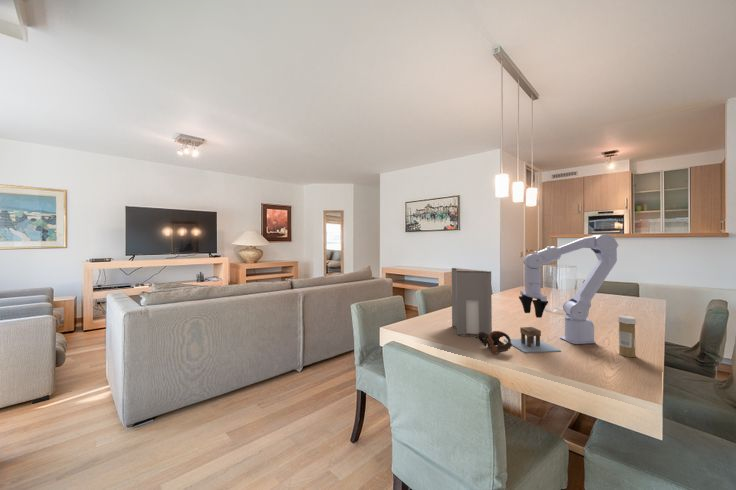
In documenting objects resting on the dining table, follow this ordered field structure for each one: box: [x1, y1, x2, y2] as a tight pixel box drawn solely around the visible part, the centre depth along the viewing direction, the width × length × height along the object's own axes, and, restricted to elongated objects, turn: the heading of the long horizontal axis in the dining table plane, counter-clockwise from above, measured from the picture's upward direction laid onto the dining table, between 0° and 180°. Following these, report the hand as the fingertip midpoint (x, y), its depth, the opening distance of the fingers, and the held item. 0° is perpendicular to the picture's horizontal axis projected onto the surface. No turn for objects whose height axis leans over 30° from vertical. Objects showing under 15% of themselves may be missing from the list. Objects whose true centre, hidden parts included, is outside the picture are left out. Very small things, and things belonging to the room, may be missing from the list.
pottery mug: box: [477, 330, 513, 355], centre depth 110 cm, size 12×10×8 cm
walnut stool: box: [519, 326, 542, 347], centre depth 115 cm, size 5×5×6 cm
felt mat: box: [503, 337, 562, 354], centre depth 115 cm, size 14×14×1 cm
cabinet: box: [451, 267, 493, 338], centre depth 131 cm, size 21×10×28 cm, turn 30°
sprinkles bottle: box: [618, 315, 637, 358], centre depth 104 cm, size 5×5×14 cm
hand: (532, 315), depth 124 cm, fingers open, 7 cm apart
